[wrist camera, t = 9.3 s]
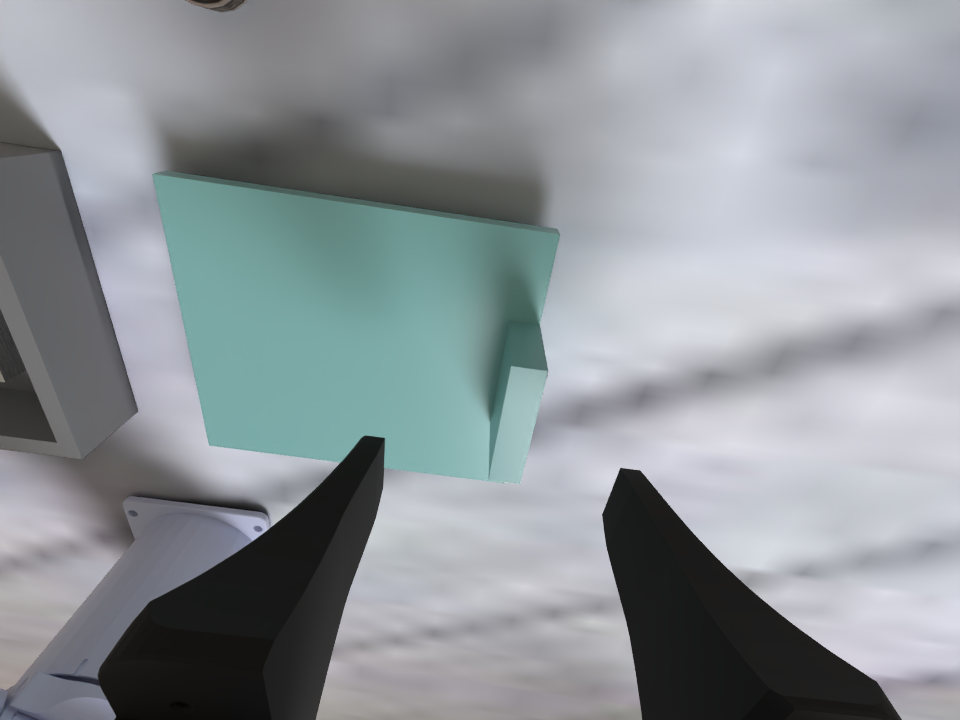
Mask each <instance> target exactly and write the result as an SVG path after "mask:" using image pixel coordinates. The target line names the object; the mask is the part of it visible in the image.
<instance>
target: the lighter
mask: <svg viewBox="0 0 960 720" xmlns="http://www.w3.org/2000/svg"><path fill="white" fill-rule="evenodd" d="M186 1H188V2H189V3H191V4H194V5H197V6H200V7H203V8H206V9H210V10H215V11H219V12H227V11H233V10H236V9H238V8H239V7H240V6H242V5H243V4H245V3H246V1H247V0H186Z"/></svg>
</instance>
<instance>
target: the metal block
mask: <svg viewBox="0 0 960 720" xmlns="http://www.w3.org/2000/svg"><path fill="white" fill-rule="evenodd" d="M25 371H26V368H25V366H24V363H23V361H22V359H21V356H20V354H19V352H18V349H17V347H16V344H15V342H14V340H13V337H12V335H11V333H10V330H9V328H8V326H7V323H6V321H5V319H4V316H3V314H2V311H1V309H0V382H7V381H9V380H11V379H12V378H14V377H16V376H18V375H19V374H21V373H23V372H25Z"/></svg>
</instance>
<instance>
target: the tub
mask: <svg viewBox="0 0 960 720" xmlns="http://www.w3.org/2000/svg"><path fill="white" fill-rule="evenodd" d="M0 309H1V311H2V314H3V316H4V319H5V321H6V323H7V326H8V328H9V330H10V333H11V335H12V337H13V340H14V342H15V344H16V347H17V349H18V352H19V354H20V356H21V359H22V361H23V363H24V366H25V368H26V371H25V372H23V373H21V374H19V375H18V376H16V377H14V378H12V379H11V380H9V381H7V382H0V449H4V450H12V451H19V452H27V453H35V454H43V455H51V456H59V457H67V458H75V459H83V458H84V457H86V456H87V455H88V454H89V453H90V452H91V451H93V450H94V449H95V448H96V447H97V446H98V445H100V444H101V443H102V442H103V441H104V440H105V439H107V438H108V437H109V436H110V435H111V434H112V433H113V432H115V431H116V430H117V429H118V428H119V427H120V426H122V425H123V424H124V423H125V422H126V421H127V420H129V419H130V418H131V417H132V416H133V415H134V414H136V413H137V412H138V410H137V407H136V403H135V400H134V396H133V393H132V390H131V386H130V383H129V380H128V376H127V373H126V370H125V366H124V363H123V359H122V356H121V353H120V349H119V346H118V343H117V339H116V336H115V332H114V329H113V326H112V322H111V319H110V316H109V312H108V309H107V305H106V302H105V299H104V295H103V292H102V289H101V285H100V282H99V278H98V275H97V272H96V268H95V265H94V262H93V258H92V255H91V251H90V248H89V245H88V241H87V238H86V235H85V231H84V228H83V225H82V221H81V218H80V214H79V211H78V208H77V204H76V201H75V198H74V194H73V191H72V187H71V184H70V181H69V177H68V174H67V171H66V167H65V164H64V160H63V157H62V154H61V151H55V150H49V149H42V148H35V147H29V146H22V145H15V144H8V143H2V142H0Z"/></svg>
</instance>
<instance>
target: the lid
mask: <svg viewBox="0 0 960 720" xmlns="http://www.w3.org/2000/svg"><path fill="white" fill-rule="evenodd" d="M152 175H153V179H154V184H155V189H156V194H157V199H158V203H159V208H160V213H161V218H162V223H163V227H164V232H165V237H166V242H167V246H168V251H169V256H170V261H171V266H172V270H173V275H174V280H175V285H176V290H177V294H178V299H179V304H180V309H181V313H182V318H183V323H184V328H185V333H186V337H187V342H188V347H189V352H190V356H191V361H192V366H193V371H194V376H195V380H196V385H197V390H198V395H199V400H200V404H201V409H202V414H203V419H204V423H205V428H206V433H207V438H208V443H209V445H210V446H217V447H225V448H233V449H241V450H249V451H256V452H264V453H272V454H280V455H288V456H295V457H303V458H311V459H319V460H327V461H334V462H342V460H343V459H344V458H345V457H346V456H347V455H348V454H349V452H350V451H351V450H352V449H353V448H354V446H355V445H356V444H357V443H358V441H359V440H360V439H361V438H362V437H363V436H365V435H367V436H374V437H382V438H385V454H384V468H389V469H397V470H404V471H412V472H420V473H428V474H436V475H443V476H451V477H459V478H467V479H475V480H482V481H490V482H498V483H504V482H508V483H516V484H520V482H521V478H522V474H523V470H524V466H525V462H526V458H527V454H528V450H529V446H530V442H531V438H532V434H533V430H534V426H535V422H536V418H537V414H538V410H539V406H540V402H541V398H542V394H543V390H544V386H545V382H546V378H547V374H548V368H547V362H546V357H545V351H544V345H543V340H542V334H541V329H540V321H541V317H542V312H543V308H544V303H545V299H546V294H547V290H548V285H549V281H550V277H551V272H552V268H553V263H554V259H555V254H556V250H557V245H558V241H559V236H560V234H559V231H558V229H554V228H547V227H541V226H534V225H527V224H521V223H514V222H507V221H501V220H494V219H487V218H480V217H474V216H467V215H460V214H454V213H447V212H440V211H434V210H427V209H420V208H413V207H407V206H400V205H393V204H387V203H380V202H373V201H367V200H360V199H353V198H346V197H340V196H333V195H326V194H320V193H313V192H306V191H300V190H293V189H286V188H280V187H273V186H266V185H259V184H253V183H246V182H239V181H233V180H226V179H219V178H213V177H206V176H199V175H192V174H186V173H179V172H172V171H164V172H159V173H154V174H152Z"/></svg>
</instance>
